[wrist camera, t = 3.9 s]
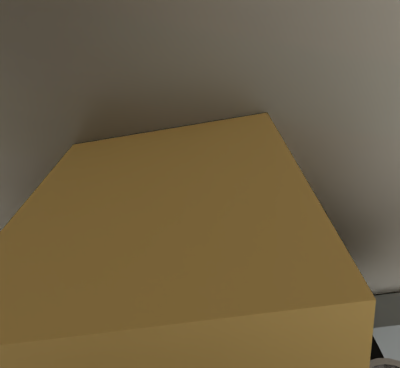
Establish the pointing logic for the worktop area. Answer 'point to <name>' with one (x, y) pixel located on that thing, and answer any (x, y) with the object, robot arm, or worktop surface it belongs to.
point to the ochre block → (180, 259)
